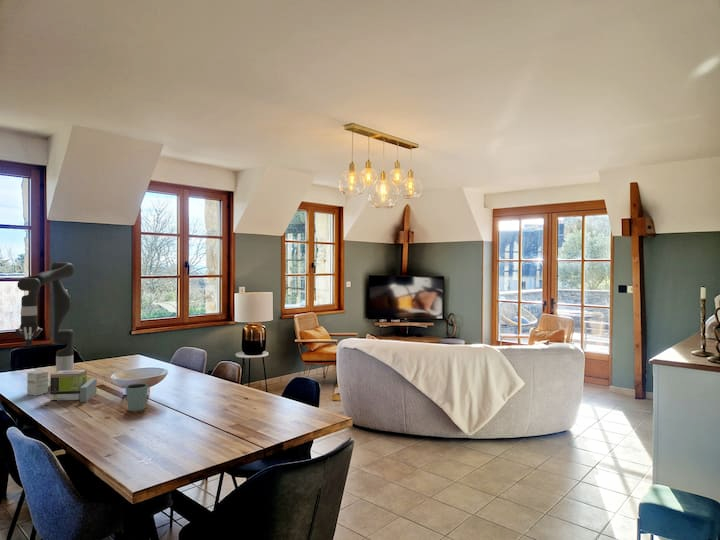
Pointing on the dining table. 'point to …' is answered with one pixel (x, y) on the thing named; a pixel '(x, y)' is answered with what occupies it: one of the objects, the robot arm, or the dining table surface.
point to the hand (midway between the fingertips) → (29, 345)
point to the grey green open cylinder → (136, 396)
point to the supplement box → (37, 382)
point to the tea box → (67, 384)
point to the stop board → (88, 390)
